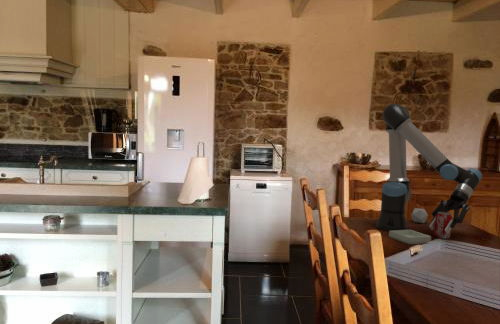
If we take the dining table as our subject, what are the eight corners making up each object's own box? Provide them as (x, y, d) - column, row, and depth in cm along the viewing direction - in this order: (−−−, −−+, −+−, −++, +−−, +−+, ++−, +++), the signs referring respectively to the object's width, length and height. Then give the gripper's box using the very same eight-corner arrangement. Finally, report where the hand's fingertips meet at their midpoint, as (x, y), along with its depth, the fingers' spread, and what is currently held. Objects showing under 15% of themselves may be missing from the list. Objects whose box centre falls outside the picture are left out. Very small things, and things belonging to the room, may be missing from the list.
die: (426, 222, 221) (417, 208, 225) (433, 218, 213) (424, 203, 217) (414, 228, 220) (405, 213, 223) (421, 223, 212) (412, 208, 215)
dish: (388, 237, 181) (389, 230, 180) (409, 235, 185) (410, 229, 185) (408, 244, 169) (409, 237, 169) (430, 242, 173) (431, 236, 173)
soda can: (452, 240, 180) (454, 215, 179) (436, 238, 181) (438, 213, 180) (448, 236, 187) (450, 212, 186) (432, 235, 188) (434, 211, 187)
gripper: (484, 203, 182) (462, 240, 175) (444, 196, 199) (422, 230, 192) (479, 192, 179) (456, 229, 172) (439, 186, 196) (416, 220, 189)
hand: (438, 230), depth 182 cm, fingers closed on soda can, 7 cm apart
